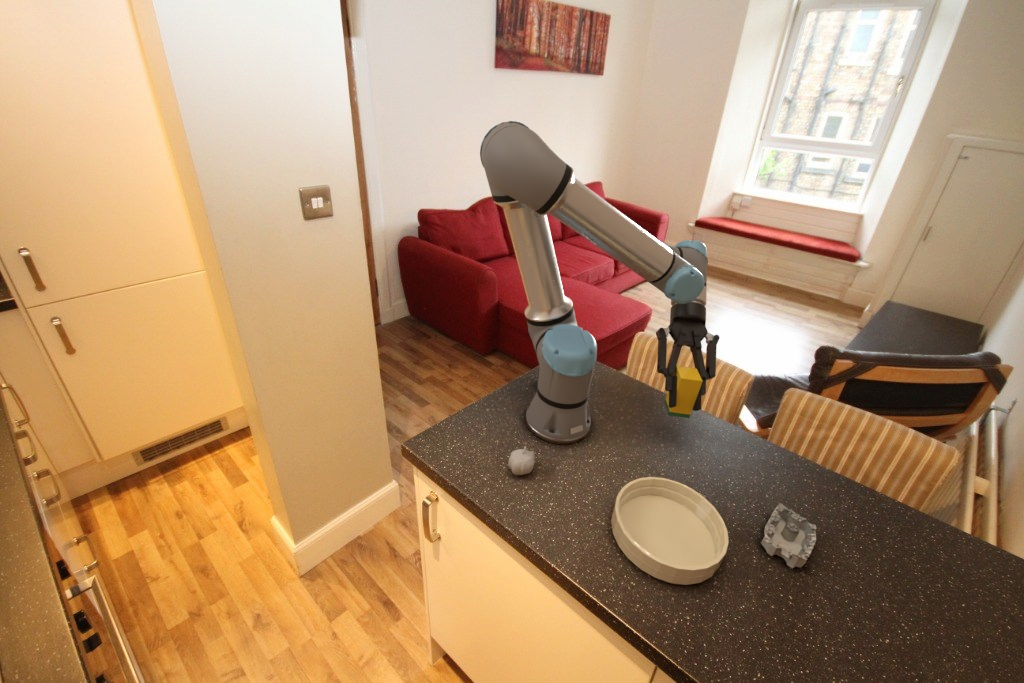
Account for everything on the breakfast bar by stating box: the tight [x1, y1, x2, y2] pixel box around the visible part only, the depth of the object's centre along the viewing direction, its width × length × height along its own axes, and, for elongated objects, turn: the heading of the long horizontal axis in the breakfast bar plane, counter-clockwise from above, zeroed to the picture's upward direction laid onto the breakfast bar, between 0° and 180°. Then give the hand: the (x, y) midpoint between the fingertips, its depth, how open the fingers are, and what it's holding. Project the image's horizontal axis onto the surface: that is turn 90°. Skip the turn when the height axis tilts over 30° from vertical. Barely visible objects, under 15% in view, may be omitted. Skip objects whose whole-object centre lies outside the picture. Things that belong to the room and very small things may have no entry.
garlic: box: [507, 445, 536, 476], centre depth 91 cm, size 6×5×5 cm
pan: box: [610, 476, 730, 586], centre depth 80 cm, size 19×19×4 cm
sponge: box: [664, 365, 703, 419], centre depth 98 cm, size 5×4×10 cm
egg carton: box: [760, 502, 817, 569], centre depth 80 cm, size 11×8×4 cm
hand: (684, 408), depth 95 cm, fingers closed on sponge, 4 cm apart
